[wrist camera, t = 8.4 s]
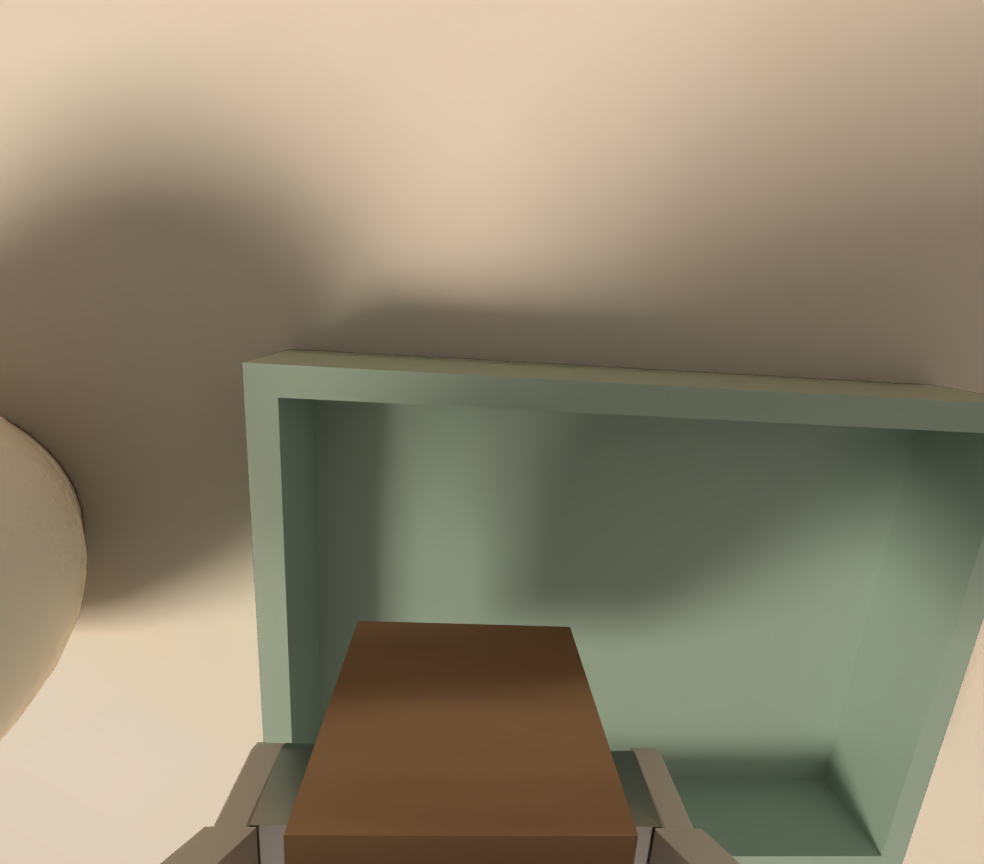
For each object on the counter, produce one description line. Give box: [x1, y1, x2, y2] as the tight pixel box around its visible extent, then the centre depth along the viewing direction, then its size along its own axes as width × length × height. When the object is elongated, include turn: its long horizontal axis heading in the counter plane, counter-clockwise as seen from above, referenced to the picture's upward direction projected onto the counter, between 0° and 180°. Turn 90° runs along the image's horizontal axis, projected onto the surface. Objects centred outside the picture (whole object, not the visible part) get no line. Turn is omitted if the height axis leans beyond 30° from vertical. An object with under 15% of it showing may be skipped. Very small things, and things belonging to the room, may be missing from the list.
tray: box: [242, 349, 984, 864], centre depth 14 cm, size 14×18×3 cm
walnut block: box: [283, 621, 638, 864], centre depth 9 cm, size 4×4×4 cm
